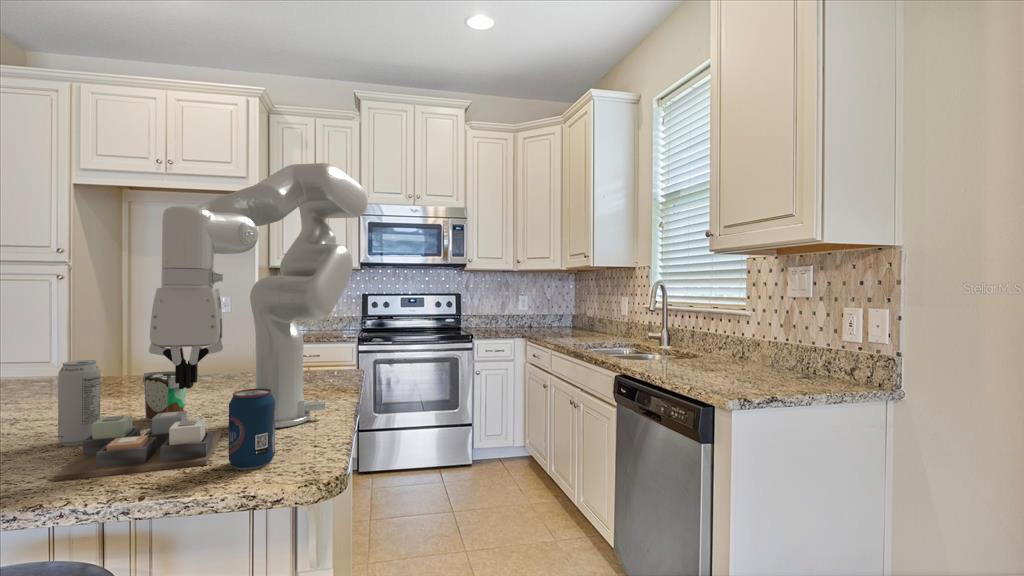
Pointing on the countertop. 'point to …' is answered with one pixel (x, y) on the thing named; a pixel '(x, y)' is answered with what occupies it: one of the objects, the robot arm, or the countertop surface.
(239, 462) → the soda can
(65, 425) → the energy drink can
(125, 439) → the terracotta key
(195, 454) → the keypad
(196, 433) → the ivory key
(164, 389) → the food container
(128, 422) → the sage key
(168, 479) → the countertop surface
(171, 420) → the slate key
